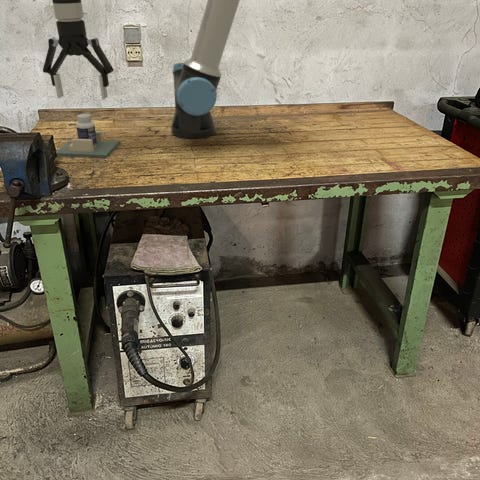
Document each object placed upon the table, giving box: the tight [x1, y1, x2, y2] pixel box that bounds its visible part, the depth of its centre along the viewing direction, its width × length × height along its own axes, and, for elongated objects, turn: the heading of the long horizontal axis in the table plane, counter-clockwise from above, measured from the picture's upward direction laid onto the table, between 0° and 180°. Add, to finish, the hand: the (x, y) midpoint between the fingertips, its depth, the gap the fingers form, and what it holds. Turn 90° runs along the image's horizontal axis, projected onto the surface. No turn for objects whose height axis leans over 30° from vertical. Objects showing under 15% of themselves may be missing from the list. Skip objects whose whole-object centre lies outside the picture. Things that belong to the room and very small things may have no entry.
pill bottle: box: [75, 113, 97, 148], centre depth 153 cm, size 5×5×10 cm
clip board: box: [55, 130, 122, 159], centre depth 155 cm, size 16×14×4 cm
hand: (82, 97), depth 148 cm, fingers open, 13 cm apart
